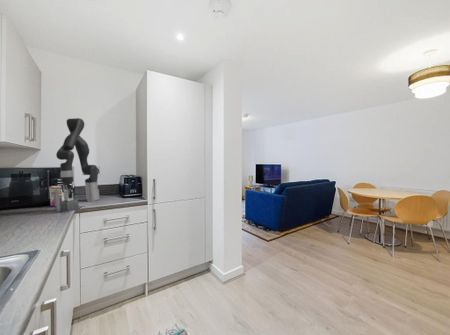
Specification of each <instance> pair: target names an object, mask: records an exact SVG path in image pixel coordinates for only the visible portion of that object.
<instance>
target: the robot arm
mask: <svg viewBox="0 0 450 335" xmlns="http://www.w3.org/2000/svg"><path fill="white" fill-rule="evenodd" d="M66 125H67V126H66V127H67V129H68V131H69V134H68V135H67V136H66V137H65V138H64V141H63V143H62V146H60V148H59V149H58V150H57V151H56V154H55V155H56V158H57V159H58V160H61V161H62V160H63V161H65V162H61V163H60V166H59V167H60V183H62V184H60V186H61V189H62V192H64V190H63V187H64V188H67V190H68V193H69V198H73V199H74V195H73V196H72V193H73V194H74V193H75V191H76V185H75V184H74V185H73V182H74V172H73V163H74V157H75V153H74V152H73V150H74V149H75V150H76V153H77V156H78V159H79V163H80V168H81V172H82V174H83V175H86V176H88V175H89V177H88V178H86V179H84V184H85V185H84V186H85V197H86V198H85V199H86V200H85V201H86V202H94V201H99V200H100V189H99V188H98V177H99V176H98V174H99V173H98V172H99V171H98V166H97V165H96V164H89V162H88V157H89V154H90V149H89V147H90V146H89V145H88V143H87V141H86V140H85V139H84V138H83V137H81V136H80V135H81V134H82V132H83V130H84V128H85V122H84V120H83V119H82V118H79V117H77V118H67V120H66ZM69 189H70V190H69ZM72 190H73V191H72Z"/></svg>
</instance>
